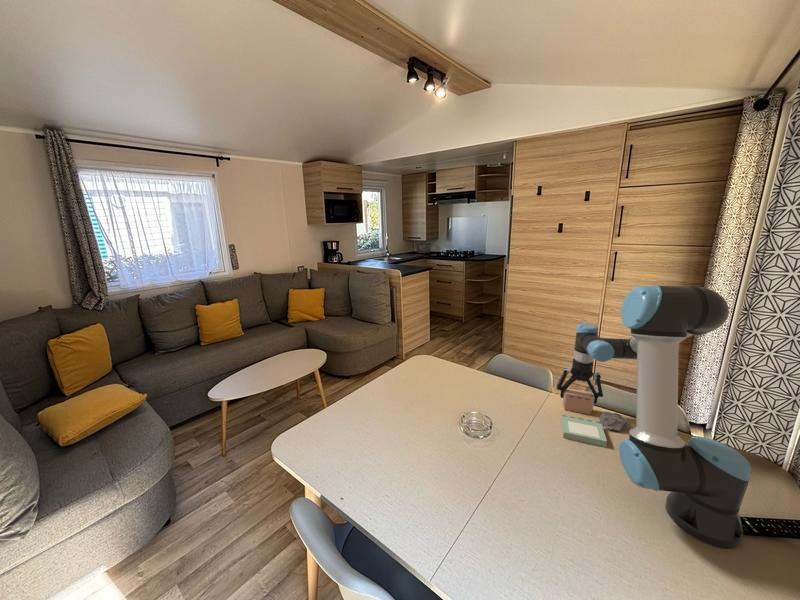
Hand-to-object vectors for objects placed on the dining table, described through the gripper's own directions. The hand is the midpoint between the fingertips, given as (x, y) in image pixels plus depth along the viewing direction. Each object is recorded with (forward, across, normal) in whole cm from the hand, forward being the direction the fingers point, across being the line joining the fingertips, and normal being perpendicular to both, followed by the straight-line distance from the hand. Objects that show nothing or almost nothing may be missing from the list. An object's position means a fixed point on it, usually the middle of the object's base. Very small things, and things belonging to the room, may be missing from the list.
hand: (577, 406), depth 136 cm
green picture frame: (+1, 0, +17) cm, 17 cm away
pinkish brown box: (+1, 0, 0) cm, 1 cm away
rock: (+2, -12, +7) cm, 14 cm away
